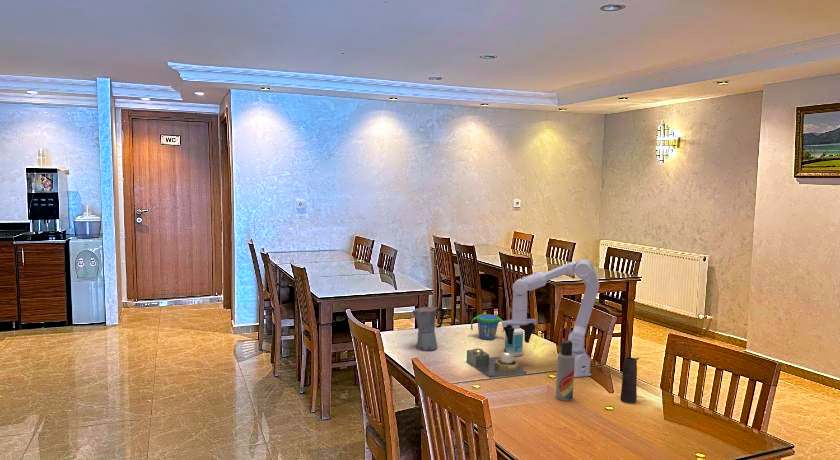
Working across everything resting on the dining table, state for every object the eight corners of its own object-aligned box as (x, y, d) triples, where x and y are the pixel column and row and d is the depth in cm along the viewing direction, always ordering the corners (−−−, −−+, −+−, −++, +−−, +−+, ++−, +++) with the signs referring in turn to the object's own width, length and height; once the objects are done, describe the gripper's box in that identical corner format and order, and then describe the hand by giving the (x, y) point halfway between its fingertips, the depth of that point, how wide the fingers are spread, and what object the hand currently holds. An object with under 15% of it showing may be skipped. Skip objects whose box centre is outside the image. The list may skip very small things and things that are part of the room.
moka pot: (406, 346, 259) (408, 301, 257) (438, 343, 265) (439, 299, 264) (415, 352, 250) (417, 306, 249) (448, 349, 257) (449, 303, 255)
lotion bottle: (573, 401, 199) (576, 343, 198) (555, 400, 200) (558, 342, 199) (572, 396, 205) (575, 339, 203) (555, 394, 206) (558, 338, 204)
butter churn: (645, 398, 205) (650, 318, 202) (646, 407, 196) (651, 324, 193) (617, 394, 208) (622, 315, 205) (617, 403, 199) (621, 321, 196)
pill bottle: (521, 352, 256) (522, 321, 254) (522, 357, 248) (524, 325, 247) (504, 351, 256) (505, 320, 255) (504, 356, 249) (506, 324, 248)
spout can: (515, 368, 230) (515, 351, 230) (504, 369, 228) (504, 352, 228) (508, 364, 235) (508, 347, 234) (497, 366, 233) (498, 348, 232)
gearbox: (526, 373, 227) (527, 358, 227) (489, 377, 221) (490, 362, 221) (501, 358, 246) (501, 344, 245) (466, 361, 240) (467, 347, 239)
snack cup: (505, 336, 280) (506, 315, 279) (502, 342, 270) (503, 320, 269) (472, 333, 284) (473, 312, 283) (468, 339, 274) (469, 317, 273)
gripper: (529, 306, 241) (528, 339, 242) (498, 308, 236) (497, 341, 237) (539, 310, 234) (538, 343, 236) (507, 312, 229) (506, 346, 230)
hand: (518, 343), depth 236 cm, fingers open, 7 cm apart
